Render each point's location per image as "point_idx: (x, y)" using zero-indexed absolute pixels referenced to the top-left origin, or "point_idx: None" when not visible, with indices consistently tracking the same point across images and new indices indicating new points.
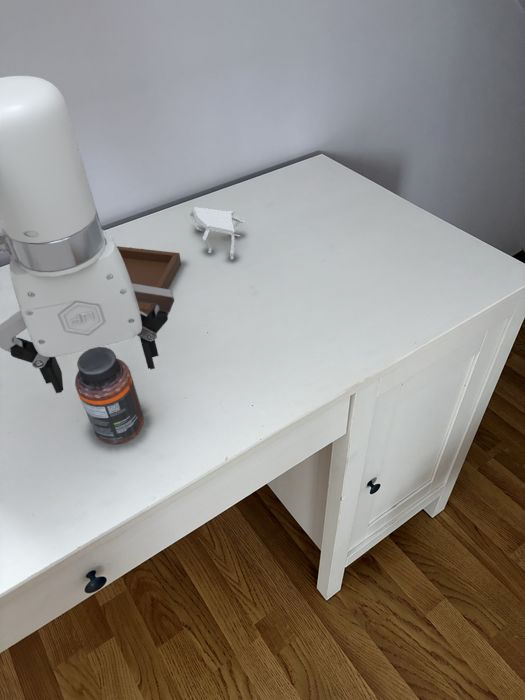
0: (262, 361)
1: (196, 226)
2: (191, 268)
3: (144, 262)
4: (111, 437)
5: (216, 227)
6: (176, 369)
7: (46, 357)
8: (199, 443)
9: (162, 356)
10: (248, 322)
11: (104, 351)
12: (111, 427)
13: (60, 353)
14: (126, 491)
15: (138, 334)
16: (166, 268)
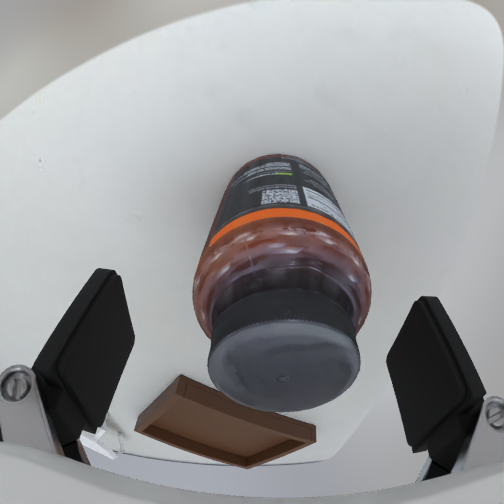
0: (27, 242)
1: (120, 439)
2: (126, 408)
3: (180, 434)
4: (304, 165)
5: (84, 436)
6: (148, 283)
7: (480, 442)
8: (131, 99)
9: (169, 316)
10: (49, 314)
11: (244, 394)
12: (300, 173)
13: (485, 494)
14: (305, 39)
15: (41, 426)
16: (149, 424)
